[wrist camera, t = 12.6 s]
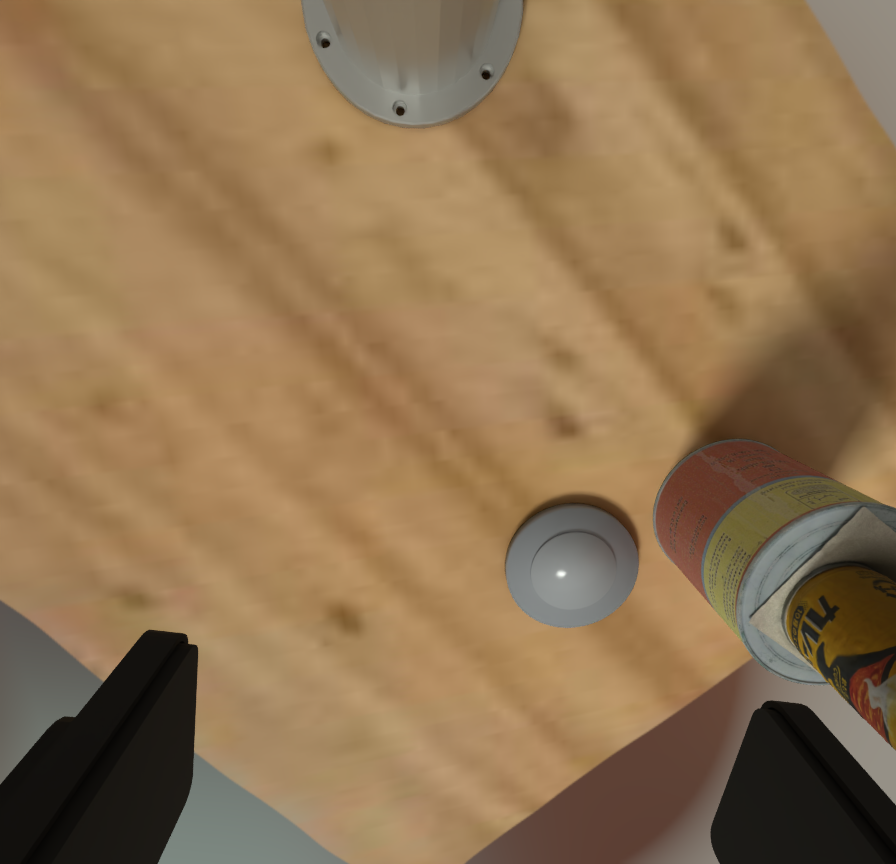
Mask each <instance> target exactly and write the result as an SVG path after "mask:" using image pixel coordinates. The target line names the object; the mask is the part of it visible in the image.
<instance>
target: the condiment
mask: <svg viewBox="0 0 896 864" xmlns="http://www.w3.org/2000/svg"><path fill="white" fill-rule="evenodd" d="M749 623H750V624H752V625H753V626H754V627H756V628H757V629H758V630H760V631H761V632H763V633H764V634H766V635H767V636H768V637H770V638H771V639H773V640H774V641H775V642H777V643H778V644H779V645H781V646H782V647H783V648H785V649H786V650H788V651H789V652H791V653H792V654H793V655H795V656H796V657H797V658H799V659H800V660H801V661H803V662H804V663H806V664H807V665H808V666H810V667H811V668H812V669H814V670H815V671H816V672H818V673H819V674H820V675H822V677H823V678H824V679H825V681H826V682H828V683H829V684H830V685H831V686H832V687H834V689H835V690H836V691H837V692H838V693H839V694H840V695H841V697H843V698H844V699H845V700H846V701H847V702H848V703H849V704H850V705H851V706H852V707H853V708H854V709H855V710H856V711H857V712H858V714H859V715H860V716H861V717H862V718H863V719H865V720H866V721H867V722H868V723H869V724H870V725H871V726H872V727H873V728H874V729H875V730H876V731H877V732H878V733H879V734H880V735H881V736H882V737H883V738H884V739H885V741H886V742H887V743H889V744H890V745H891V747H893V748H894V749H895V750H896V532H895V531H893V530H892V529H891V528H890V527H889V526H887V525H886V524H885V523H883V522H882V521H881V520H880V519H878V517H876V516H875V515H874V514H873V513H872V512H870V511H869V510H868V509H867V508H866V507H864V506H863V507H862V509H860V510H859V511H858V512H857V513H856V515H855V516H854V517H853V518H852V519H851V520H850V521H849V522H848V523H847V524H845V525H844V526H843V527H842V528H841V529H840V531H839V532H838V534H837V535H836V536H835V537H833V538H832V539H831V540H830V541H829V542H828V543H827V544H825V545H824V547H823V548H822V549H821V550H820V551H819V552H817V553H816V554H815V555H814V556H813V558H811V559H810V560H809V561H808V562H807V563H806V564H804V565H803V566H802V567H801V568H800V569H799V570H798V571H797V572H796V573H795V574H794V575H793V576H792V577H791V578H790V579H789V580H788V581H787V582H786V583H785V584H784V585H783V586H782V587H781V588H780V589H779V590H778V591H777V592H776V593H775V594H774V595H772V596H771V598H770V599H769V600H768V601H767V603H765V604H764V605H763V606H762V607H761V608H760V609H759V610H758V611H757V612H756V613H755V614H754V615H753V616H752V618H751V620H750V621H749Z"/></svg>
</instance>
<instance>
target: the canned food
mask: <svg viewBox="0 0 896 864" xmlns="http://www.w3.org/2000/svg"><path fill="white" fill-rule="evenodd" d="M863 506H864V507H866V508H867V509H868V510H869V511H870V512H872V513H873V514H874V515H875V516H876V517H878V519H880V520H881V521H882V522H883V523H885V524H886V525H887V526H889V527H890V528H891V529H892V530H893V531H895V532H896V508H894V507H891V506H887V505H884V504H882V503H880V502H878V501H876V500H874V499H872V498H870V497H868V496H866V495H864V494H862V493H860V492H858V491H856V490H854V489H852V488H850V487H848V486H846V485H844V484H842V483H840V482H838V481H836V480H834V479H832V478H830V477H828V476H826V475H824V474H822V473H820V472H818V471H816V470H814V469H812V468H810V467H808V466H806V465H804V464H802V463H800V462H798V461H796V460H794V459H792V458H790V457H788V456H785V455H783V454H781V453H780V452H779V451H777V450H776V449H774V448H772V447H770V446H768V445H766V444H764V443H761V442H757V441H753V440H747V439H729V440H723V441H718V442H715V443H711V444H709V445H706V446H704V447H702V448H700V449H698V450H696V451H694V452H692V453H691V454H689V455H688V456H687V457H685V458H684V459H683V460H682V461H680V462H679V463H678V464H677V465H676V466H675V467H674V468H673V469H672V471H671V472H670V473H669V474H668V476H667V477H666V479H665V480H664V482H663V484H662V485H661V487H660V489H659V492H658V494H657V497H656V500H655V504H654V510H653V527H654V532H655V536H656V539H657V541H658V543H659V546H660V547H661V549H662V551H663V552H664V553H665V555H666V556H667V557H668V558H669V559H670V560H671V561H672V562H673V563H674V564H675V565H676V566H677V567H678V568H679V569H680V570H681V571H682V573H683V574H684V575H685V576H686V577H687V578H688V580H689V581H690V582H691V583H692V584H693V585H694V586H695V588H696V589H697V590H698V591H699V592H700V593H701V595H702V596H703V597H704V598H705V599H706V600H707V602H708V603H709V604H710V605H711V606H712V607H713V609H714V610H715V611H716V612H717V613H718V614H719V616H720V617H721V618H722V619H723V620H724V621H725V623H726V624H727V625H728V626H729V627H730V628H731V629H732V631H733V632H734V633H735V634H736V635H737V636H738V638H739V639H740V640H741V641H742V642H743V643H744V645H745V647H746V648H747V650H748V651H749V653H750V654H751V655H752V657H753V658H754V659H755V660H756V661H757V662H758V663H759V664H760V665H761V666H763V667H764V668H765V669H766V670H768V671H769V672H771V673H773V674H774V675H776V676H778V677H780V678H783V679H785V680H788V681H792V682H796V683H800V684H806V685H830V684H829V683H828V682H826V681H825V679H824V678H823V677H822V675H820V674H819V673H818V672H816V671H815V670H814V669H812V668H811V667H810V666H808V665H807V664H806V663H804V662H803V661H801V660H800V659H799V658H797V657H796V656H795V655H793V654H792V653H791V652H789V651H788V650H786V649H785V648H783V647H782V646H781V645H779V644H778V643H777V642H775V641H774V640H773V639H771V638H770V637H768V636H767V635H766V634H764V633H763V632H761V631H760V630H758V629H757V628H756V627H754V626H753V625H752V624H750V623H749V621H750V620H751V618H752V616H753V615H754V614H755V613H756V612H757V611H758V610H759V609H760V608H761V607H762V606H763V605H764V604H765V603H767V601H768V600H769V599H770V598H771V596H772V595H774V594H775V593H776V592H777V591H778V590H779V589H780V588H781V587H782V586H783V585H784V584H785V583H786V582H787V581H788V580H789V579H790V578H791V577H792V576H793V575H794V574H795V573H796V572H797V571H798V570H799V569H800V568H801V567H802V566H803V565H804V564H806V563H807V562H808V561H809V560H810V559H811V558H813V556H814V555H815V554H816V553H817V552H819V551H820V550H821V549H822V548H823V547H824V545H825V544H827V543H828V542H829V541H830V540H831V539H832V538H833V537H835V536H836V535H837V534H838V532H839V531H840V529H841V528H842V527H843V526H844V525H845V524H847V523H848V522H849V521H850V520H851V519H852V518H853V517H854V516H855V515H856V513H857V512H858V511H859V510H860V509H862V507H863Z"/></svg>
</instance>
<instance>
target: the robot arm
mask: <svg viewBox="0 0 896 864" xmlns="http://www.w3.org/2000/svg"><path fill="white" fill-rule="evenodd" d="M301 4H302V10H303V16H304V22H305V28H306V31H307V34H308V37H309V40H310V43H311V45H312V48H313V51H314V53H315V55H316V57H317V59H318V61H319V63H320V65H321V67H322V69H323V70H324V72H325V73H326V75H327V77H328V78H329V80H330V81H331V83H332V84H333V86H334V87H335V88H336V89H337V90H338V91H339V92H340V93H341V94H342V95H343V96H344V98H345V99H346V100H347V101H348V102H349V103H351V104H352V105H353V106H355V107H356V108H358V109H359V110H360V111H362V112H363V113H364V114H366V115H368V116H370V117H372V118H374V119H376V120H378V121H381V122H383V123H385V124H390V125H394V126H398V127H402V128H428V127H433V126H439V125H443V124H446V123H448V122H450V121H453V120H455V119H458V118H460V117H462V116H463V115H465V114H466V113H468V112H469V111H471V110H472V109H474V108H475V107H476V106H478V105H479V104H480V103H481V102H482V101H483V100H484V99H485V98H486V97H487V96H488V95H489V94H490V93H491V92H492V91H493V89H494V88H495V86H496V85H497V83H498V82H499V80H500V79H501V77H502V76H503V74H504V73H505V71H506V68H507V66H508V64H509V62H510V59H511V57H512V55H513V53H514V49H515V46H516V43H517V40H518V37H519V33H520V27H521V21H522V15H523V0H301ZM325 41H328V42H330V46H329V47H327V48H323V47H322V45H323V43H324V42H325ZM485 72H486V73H488V74H489V75H490V78H489V79H488V80H485V79H483V78H482V74H483V73H485ZM399 108H402V109H404V111H405V113H404V115H402V116H399V115H397V113H396V111H397V110H398V109H399ZM197 667H198V647H197V645H192V644H188V638H187V635H186V634H183V633H174V632H165V631H157V630H148V631H146V632H145V633H144V634H143V635H142V636H141V637H140V638H139V639H138V641H137V642H136V643H135V644H134V646H133V647H132V648H131V649H130V651H129V652H128V653H127V654H126V656H125V657H124V658H123V659H122V660H121V662H120V663H119V664H118V665H117V667H116V668H115V669H114V670H113V672H112V673H111V674H110V675H109V677H108V678H107V679H106V680H105V682H104V683H103V684H102V685H101V687H100V688H99V689H98V690H97V691H96V693H95V694H94V695H93V696H92V698H91V699H90V700H89V701H88V703H87V704H86V705H85V706H84V708H83V709H82V710H81V711H80V712H79V714H78V715H77V716H76V717H62V718H61V719H59V720H57V721H56V722H55V723H54V724H52V725H51V726H50V727H49V728H48V729H47V730H46V732H45V733H44V734H43V735H42V736H41V737H40V739H39V740H38V741H37V742H36V743H35V744H34V746H33V747H32V748H31V749H30V750H29V752H28V753H27V754H26V755H25V756H24V758H23V759H22V760H21V761H20V762H19V763H18V765H17V766H16V767H15V768H14V769H13V770H12V772H11V773H10V774H9V775H8V776H7V777H6V779H5V780H4V781H3V782H2V783H1V784H0V864H158V862H159V859H160V857H161V855H162V853H163V851H164V849H165V847H166V844H167V842H168V840H169V838H170V836H171V833H172V831H173V829H174V827H175V825H176V823H177V821H178V819H179V816H180V814H181V812H182V810H183V808H184V806H185V803H186V801H187V798H188V795H189V792H190V788H191V784H192V777H193V758H194V736H195V713H196V690H197ZM711 843H712V847H713V850H714V852H715V855H716V857H717V859H718V861H719V863H720V864H896V805H895V804H894V803H893V802H892V801H891V799H890V798H889V797H888V796H887V795H886V794H885V793H884V791H882V789H881V788H880V787H879V786H878V785H877V784H876V782H875V781H874V780H873V779H872V778H871V777H870V776H869V775H868V773H867V772H866V771H865V770H864V769H863V768H862V767H861V765H860V764H859V763H858V762H857V761H856V760H855V759H854V758H853V756H852V755H851V754H850V753H849V752H848V751H847V750H846V748H845V747H844V746H843V745H842V744H841V743H840V742H839V741H838V739H837V738H836V737H835V736H834V735H833V734H832V733H831V732H830V730H829V729H828V728H827V727H826V726H825V725H824V724H823V722H822V721H821V720H820V719H819V718H818V717H817V716H816V715H815V713H814V712H813V711H812V710H811V709H810V708H808V707H807V706H805V705H802V704H798V703H789V702H781V701H767V702H765V703H764V704H763V705H762V707H761V708H760V709H757V710H755V711H754V713H753V715H752V717H751V720H750V723H749V726H748V728H747V731H746V734H745V737H744V739H743V742H742V745H741V747H740V750H739V753H738V755H737V758H736V761H735V763H734V766H733V769H732V772H731V774H730V777H729V780H728V782H727V785H726V788H725V791H724V793H723V796H722V799H721V801H720V804H719V807H718V810H717V812H716V815H715V817H714V820H713V823H712V826H711Z"/></svg>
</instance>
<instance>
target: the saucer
mask: <svg viewBox="0 0 896 864" xmlns="http://www.w3.org/2000/svg"><path fill="white" fill-rule="evenodd" d="M638 566H639V560H638V553H637V549H636V546H635V543H634V541H633V539H632V537H631V536H630V534H629V533H628V531H627V530H626V529H625V527H624V526H623V525H622V524H621V523H620V521H618V520H617V519H616V518H615V517H614V516H613V515H611V514H610V513H608V512H607V511H605V510H603V509H601V508H598V507H595V506H592V505H587V504H579V503H569V504H561V505H557V506H553V507H550V508H547V509H545V510H543V511H541V512H539V513H537V514H535V515H534V516H532V517H531V518H530V519H528V520H527V521H526V522H525V523H524V524H523V525H522V526H521V527H520V528H519V529H518V531H517V532H516V533H515V535H514V537H513V538H512V540H511V542H510V544H509V547H508V550H507V553H506V558H505V574H506V579H507V583H508V587H509V590H510V593H511V595H512V597H513V599H514V600H515V602H516V603H517V605H518V606H519V607H520V608H521V609H522V610H523V611H524V612H525V613H526V614H527V615H529V616H530V617H532V618H533V619H535V620H537V621H539V622H541V623H544V624H547V625H550V626H555V627H564V628H571V627H580V626H585V625H589V624H592V623H595V622H597V621H599V620H601V619H603V618H605V617H607V616H608V615H610V614H611V613H613V612H614V611H615V610H616V609H617V608H618V607H620V606H621V605H622V603H623V602H624V601H625V600H626V599H627V597H628V596H629V594H630V593H631V591H632V589H633V587H634V584H635V582H636V579H637V574H638Z"/></svg>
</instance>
